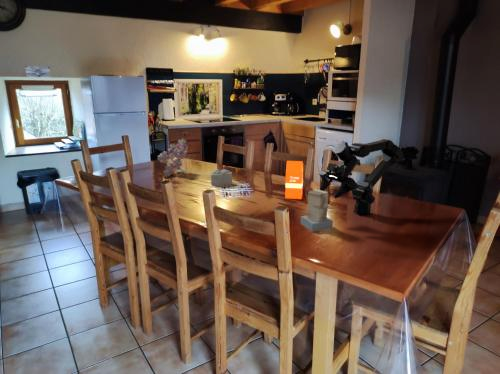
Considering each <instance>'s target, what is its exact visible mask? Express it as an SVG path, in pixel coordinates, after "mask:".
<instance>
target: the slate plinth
mask: <svg viewBox="0 0 500 374" xmlns="http://www.w3.org/2000/svg"><path fill="white" fill-rule="evenodd" d="M333 224H334V221H333V220H332V218H331V219H330V218H329V217H327V219H325V220H322V221H320V222H317V221H314V220H310V219H307V214H306V215H302V216H300V225H302V226H303V227H305V228H306V229H308V230H309V231H310V232H312V233H314V232H320V231H326V230H331V229H332V230H333Z"/></svg>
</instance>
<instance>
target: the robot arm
mask: <svg viewBox="0 0 500 374" xmlns="http://www.w3.org/2000/svg"><path fill="white" fill-rule="evenodd" d="M332 150H333V153H334V154H335V156H337V158H338V159H339V160H340V161H341V163H338V164H335V163H331V162H328V164H327V167H326V169H325V170H321V171H320V172H319V176H320V178H321V185H320V187H319V190H322V191H326V190H327V188H329V187H330V186H331V183H333V181H334V182H337V183H340V187H339V188H338V189H337V191H336V192H335V195H334V197H333V198H334V199H338V198H339V197H342V196H344V195H345V194H347V193H349V192H351V195H352V198H353V200H355V204H354V210H352V211H353V213H355V214H357V215H358V216H359V217H360V216H370V215H371V216H372V215H373V213H372V212H371V207H372V204H373V203H375V200H376V197H375V196H374V195H373V193H374V187H375V185H376V184H377V183H378V182H379V181H380V179H381V178H382V177H383V176H384V175H385V174H386V172H387V171H388V170H389V169H390V168H391V166H395V165H396V164H397V165H398V163H400V162H401V160H402V159H403V158H404V152H403V150H402V149H401V148H400V146H397V144H395V143H394V142H393V141H392V140H391V139H385V138H383V139H380V140H376V141H372V142H367V143H362V142H354V143H351V145H349V144H348V142H347V141H343V140H342V142H341V143H338V144H336V145H335V146H334V147H333V149H332ZM377 151H381V153H382V155H381V158H382V159H381V160H380V162H379V163H378V164H377V165H376V166H375V168H374V169H373V170H372V171H371V172H370V174H368V176H367V177H366V179H364V180H361V179H360V180H358V181H357V182H356V181H355V180H354V178H352V177H351V176H352V175H353V173H352V172H353V170H354V169H355V167H356V166H361V159H359V158H362V159H364V158H366V157H368V156H369V155H370V153H371V154H372V153H375V152H377ZM349 176H350V177H349Z"/></svg>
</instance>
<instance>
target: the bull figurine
mask: <svg viewBox="0 0 500 374" xmlns="http://www.w3.org/2000/svg"><path fill="white" fill-rule="evenodd" d="M313 190H316V189H315V188H313V187H310V186H307V187H306V188H305V197H306V201H307V202H308V192H310V191H313Z"/></svg>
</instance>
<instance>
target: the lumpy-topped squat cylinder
mask: <svg viewBox="0 0 500 374" xmlns="http://www.w3.org/2000/svg"><path fill="white" fill-rule="evenodd" d="M210 184H211V186H212V187H225V186H224V185H227V186H230V185H232V184H233V172H232V171H230V170H228V169H225V168H224V169H219V168H217V169H216V170H214V171H213V172H211V174H210Z"/></svg>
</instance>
